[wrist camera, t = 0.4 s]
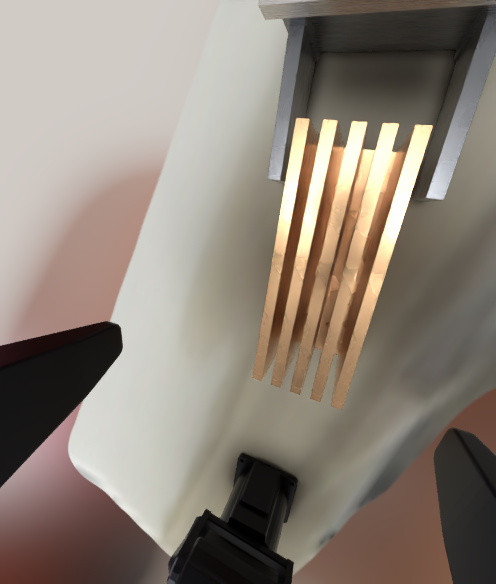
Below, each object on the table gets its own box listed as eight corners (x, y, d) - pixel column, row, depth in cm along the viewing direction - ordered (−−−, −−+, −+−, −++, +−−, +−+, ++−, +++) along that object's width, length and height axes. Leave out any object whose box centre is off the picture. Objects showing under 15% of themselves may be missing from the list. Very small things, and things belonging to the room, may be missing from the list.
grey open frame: (429, 201, 18) (507, 195, 8) (280, 183, 21) (218, 164, 11) (488, 30, 15) (706, -269, 5) (304, 37, 18) (244, -147, 8)
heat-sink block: (350, 346, 22) (347, 411, 15) (280, 326, 24) (248, 375, 17) (407, 158, 18) (441, 125, 10) (314, 150, 19) (289, 117, 12)
